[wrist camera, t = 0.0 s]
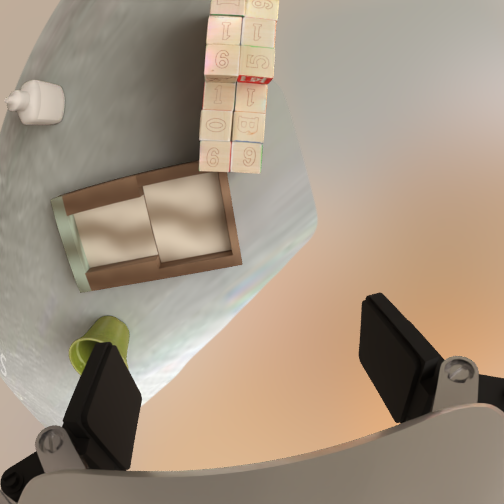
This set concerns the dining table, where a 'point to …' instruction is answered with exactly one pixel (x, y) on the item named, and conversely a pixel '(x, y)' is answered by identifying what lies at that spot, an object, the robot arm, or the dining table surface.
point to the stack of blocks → (236, 84)
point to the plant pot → (99, 341)
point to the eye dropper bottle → (38, 103)
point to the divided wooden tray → (148, 227)
